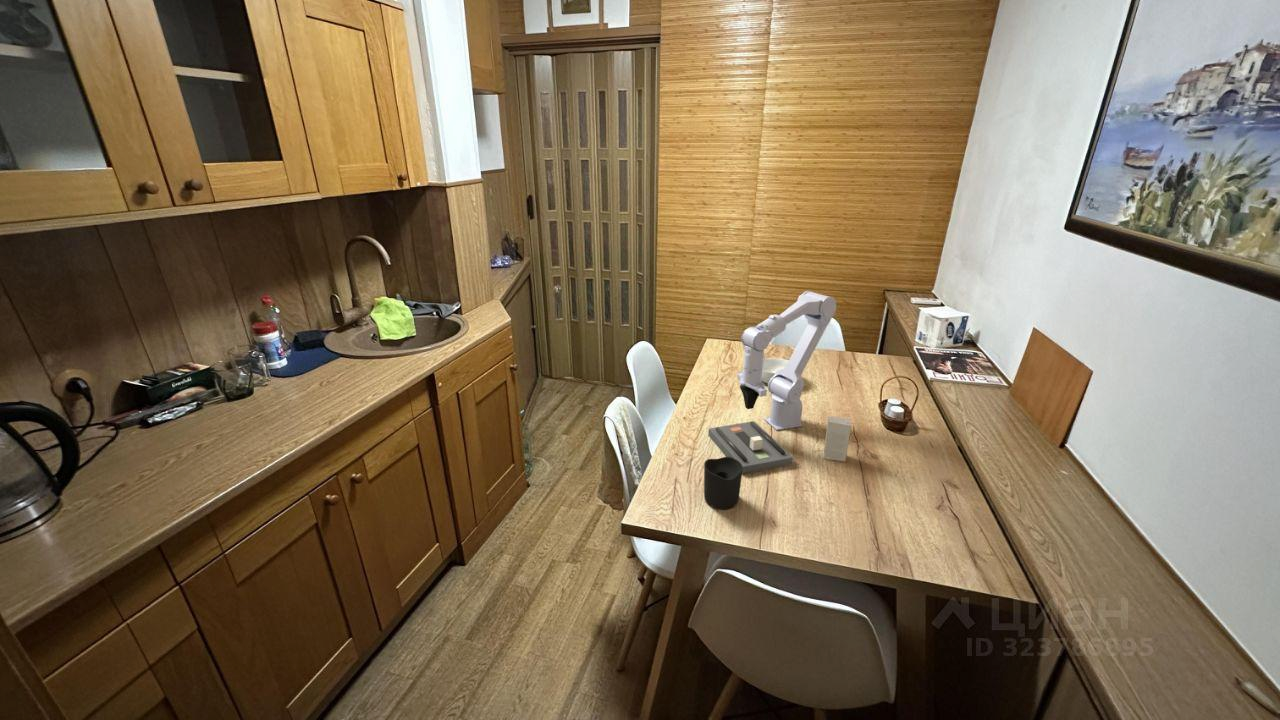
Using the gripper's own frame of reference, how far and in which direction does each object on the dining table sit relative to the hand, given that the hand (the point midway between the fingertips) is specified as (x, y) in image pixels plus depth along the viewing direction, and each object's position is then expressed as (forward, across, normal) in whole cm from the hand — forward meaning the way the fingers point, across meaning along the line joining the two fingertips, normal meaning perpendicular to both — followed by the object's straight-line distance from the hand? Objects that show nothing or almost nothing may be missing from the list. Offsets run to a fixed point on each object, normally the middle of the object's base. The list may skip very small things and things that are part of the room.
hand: (749, 407), depth 152 cm
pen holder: (+10, +27, -22) cm, 36 cm away
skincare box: (+10, +19, +18) cm, 28 cm away
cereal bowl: (+10, -33, +30) cm, 46 cm away
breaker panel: (+9, +8, -4) cm, 13 cm away
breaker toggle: (+6, +12, -4) cm, 14 cm away
